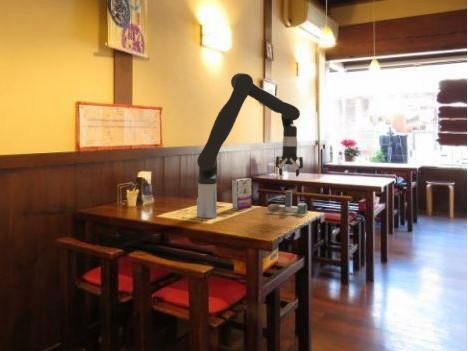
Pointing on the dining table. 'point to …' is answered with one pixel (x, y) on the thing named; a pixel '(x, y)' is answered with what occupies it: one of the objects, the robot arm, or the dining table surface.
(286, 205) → the gray t-shaped block
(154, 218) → the dining table surface
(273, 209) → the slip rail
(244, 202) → the candy bar box
